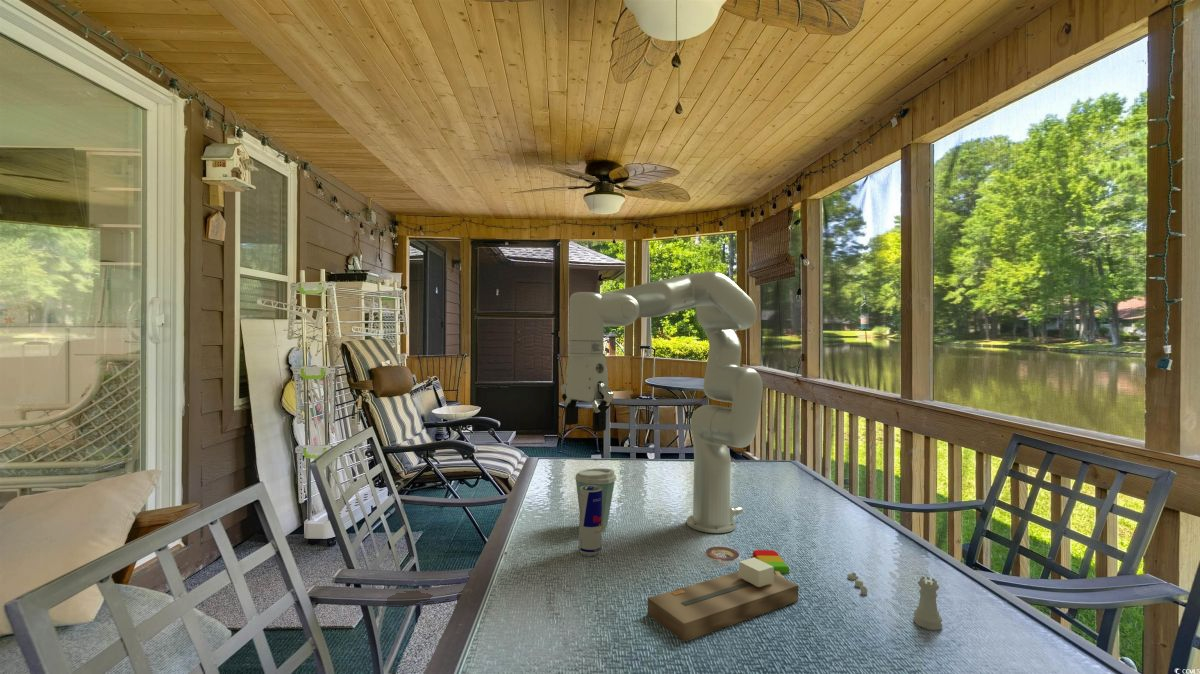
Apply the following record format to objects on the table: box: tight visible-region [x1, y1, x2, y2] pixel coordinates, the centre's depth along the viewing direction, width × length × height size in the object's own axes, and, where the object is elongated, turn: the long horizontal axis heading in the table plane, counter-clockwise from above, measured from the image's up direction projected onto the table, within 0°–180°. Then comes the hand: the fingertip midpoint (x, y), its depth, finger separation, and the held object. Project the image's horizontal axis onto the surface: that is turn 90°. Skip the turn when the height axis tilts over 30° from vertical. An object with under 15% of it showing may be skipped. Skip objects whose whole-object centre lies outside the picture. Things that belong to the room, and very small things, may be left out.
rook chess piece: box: [912, 575, 943, 632], centre depth 96 cm, size 4×4×8 cm
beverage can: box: [578, 485, 603, 557], centre depth 125 cm, size 5×5×15 cm
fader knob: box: [738, 557, 775, 587], centre depth 105 cm, size 4×5×3 cm
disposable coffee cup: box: [574, 467, 617, 533], centre depth 141 cm, size 11×11×15 cm
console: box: [647, 570, 799, 643], centre depth 101 cm, size 28×10×3 cm, turn 121°
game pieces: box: [847, 572, 868, 596], centre depth 111 cm, size 8×2×2 cm, turn 171°
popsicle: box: [752, 549, 790, 579], centre depth 118 cm, size 6×15×2 cm, turn 0°
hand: (585, 427), depth 120 cm, fingers open, 9 cm apart
